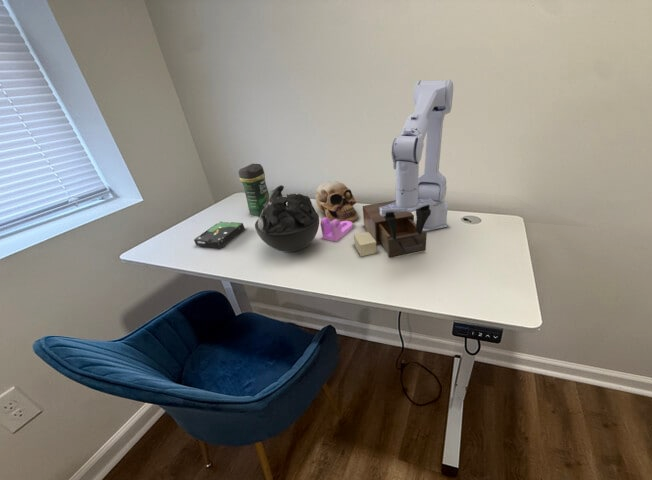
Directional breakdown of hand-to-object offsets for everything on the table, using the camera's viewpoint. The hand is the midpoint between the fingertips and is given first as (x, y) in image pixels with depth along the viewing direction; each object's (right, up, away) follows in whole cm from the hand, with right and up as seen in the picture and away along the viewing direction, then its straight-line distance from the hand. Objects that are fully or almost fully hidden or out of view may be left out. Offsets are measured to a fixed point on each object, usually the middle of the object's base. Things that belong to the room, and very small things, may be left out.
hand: (406, 235), depth 90 cm
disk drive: (-64, +4, +26) cm, 70 cm away
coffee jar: (-56, +17, +43) cm, 72 cm away
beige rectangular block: (-12, -2, +14) cm, 19 cm away
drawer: (0, -2, +12) cm, 12 cm away
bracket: (-21, +6, +25) cm, 33 cm away
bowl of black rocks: (-36, -1, +17) cm, 40 cm away
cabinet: (-4, +6, +23) cm, 24 cm away
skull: (-23, +15, +37) cm, 46 cm away
